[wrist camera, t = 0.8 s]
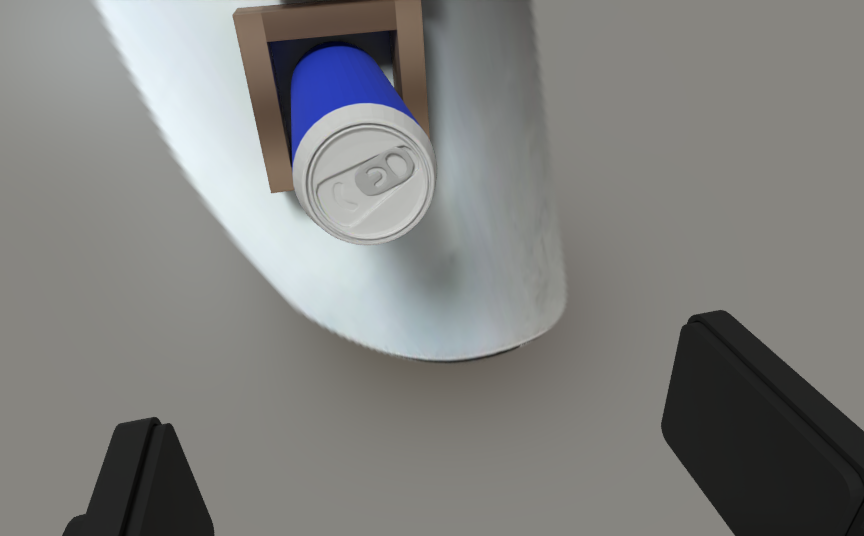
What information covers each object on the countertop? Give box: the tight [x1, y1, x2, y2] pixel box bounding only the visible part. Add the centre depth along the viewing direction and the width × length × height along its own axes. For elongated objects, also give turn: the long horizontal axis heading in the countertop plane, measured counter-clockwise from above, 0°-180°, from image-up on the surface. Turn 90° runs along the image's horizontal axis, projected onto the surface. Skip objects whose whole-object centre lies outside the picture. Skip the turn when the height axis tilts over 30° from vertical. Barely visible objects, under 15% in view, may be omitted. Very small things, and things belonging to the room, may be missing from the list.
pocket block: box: [233, 0, 430, 193], centre depth 31 cm, size 9×9×3 cm
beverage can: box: [291, 41, 437, 245], centre depth 26 cm, size 5×5×15 cm
